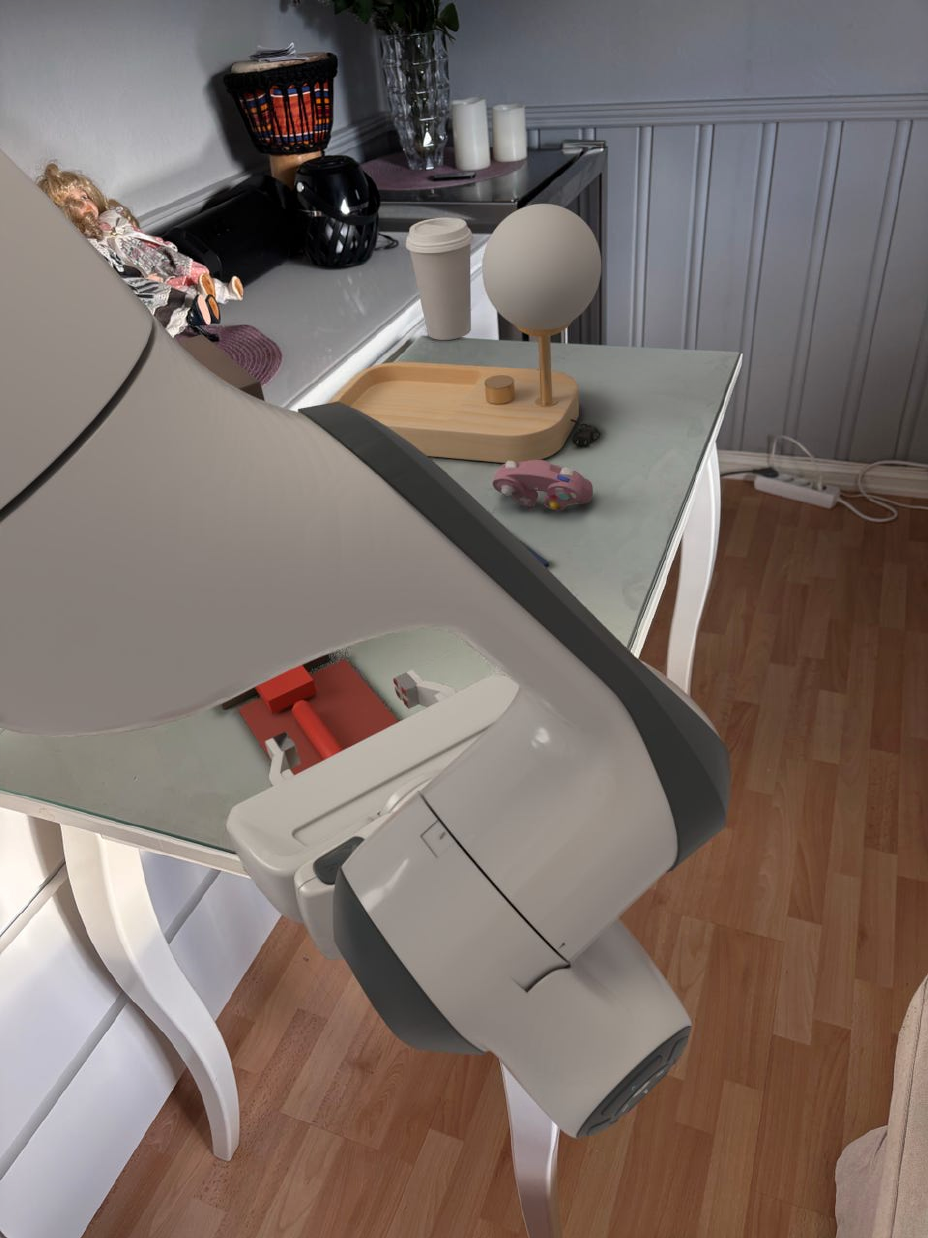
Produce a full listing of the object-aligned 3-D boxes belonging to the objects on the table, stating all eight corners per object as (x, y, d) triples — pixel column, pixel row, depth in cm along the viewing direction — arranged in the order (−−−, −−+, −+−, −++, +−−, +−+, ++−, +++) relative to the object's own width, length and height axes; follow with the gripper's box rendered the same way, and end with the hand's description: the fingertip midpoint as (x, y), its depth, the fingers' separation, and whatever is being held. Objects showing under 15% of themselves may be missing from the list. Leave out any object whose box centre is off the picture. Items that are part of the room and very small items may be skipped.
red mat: (298, 803, 67) (296, 799, 67) (238, 711, 75) (237, 708, 75) (414, 742, 71) (413, 738, 71) (345, 661, 79) (344, 657, 79)
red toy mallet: (406, 815, 65) (403, 801, 64) (357, 842, 64) (353, 828, 63) (292, 659, 78) (288, 646, 77) (249, 679, 77) (244, 665, 76)
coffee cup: (493, 331, 133) (485, 224, 124) (437, 349, 130) (424, 241, 121) (460, 313, 140) (450, 211, 131) (406, 331, 137) (391, 227, 127)
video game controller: (498, 515, 98) (482, 479, 92) (510, 479, 99) (495, 441, 93) (587, 527, 94) (577, 491, 88) (598, 490, 96) (589, 452, 90)
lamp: (316, 446, 111) (269, 230, 95) (374, 385, 123) (341, 184, 107) (583, 471, 100) (580, 233, 84) (616, 401, 112) (619, 181, 97)
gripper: (597, 728, 53) (468, 611, 62) (274, 911, 45) (183, 747, 55) (597, 798, 57) (476, 679, 66) (300, 977, 49) (211, 814, 59)
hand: (341, 711), depth 60 cm, fingers open, 8 cm apart
